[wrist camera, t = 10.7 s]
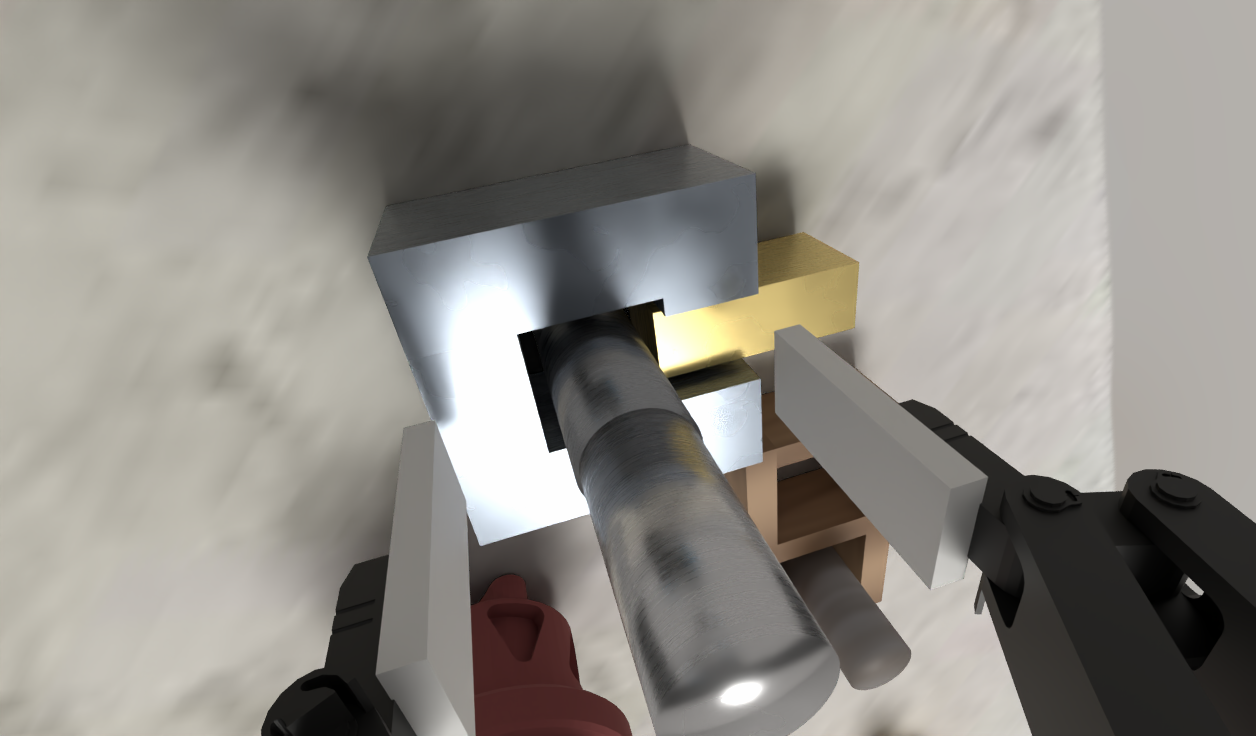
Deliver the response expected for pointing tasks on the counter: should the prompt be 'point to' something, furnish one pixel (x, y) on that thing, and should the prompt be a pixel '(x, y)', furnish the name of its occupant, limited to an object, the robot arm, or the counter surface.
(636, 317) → the bar
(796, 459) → the frame
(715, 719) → the grey cylindrical peg
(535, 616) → the mechanical component
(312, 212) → the counter surface
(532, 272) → the socket block
